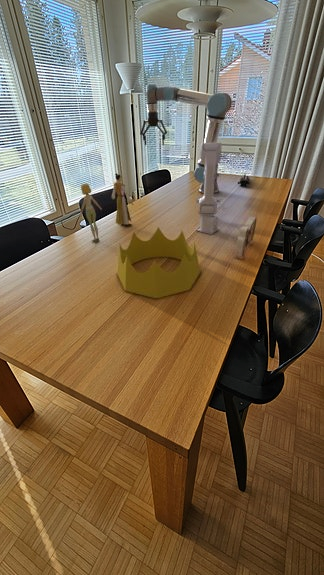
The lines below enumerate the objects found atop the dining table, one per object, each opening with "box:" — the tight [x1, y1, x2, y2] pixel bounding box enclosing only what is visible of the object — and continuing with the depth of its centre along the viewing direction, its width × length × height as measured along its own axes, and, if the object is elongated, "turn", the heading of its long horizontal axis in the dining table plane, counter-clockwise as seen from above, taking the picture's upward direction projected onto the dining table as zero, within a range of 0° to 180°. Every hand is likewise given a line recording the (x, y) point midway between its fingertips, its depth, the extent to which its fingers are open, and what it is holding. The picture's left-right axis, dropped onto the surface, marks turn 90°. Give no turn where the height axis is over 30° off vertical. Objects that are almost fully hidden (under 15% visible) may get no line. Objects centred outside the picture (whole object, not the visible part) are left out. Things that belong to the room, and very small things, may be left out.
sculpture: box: [79, 183, 103, 243], centre depth 136 cm, size 13×5×30 cm, turn 134°
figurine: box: [110, 173, 134, 228], centre depth 153 cm, size 19×9×30 cm, turn 47°
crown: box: [116, 226, 201, 299], centre depth 110 cm, size 36×36×15 cm
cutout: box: [235, 216, 258, 260], centre depth 125 cm, size 15×3×25 cm
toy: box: [237, 173, 251, 188], centre depth 230 cm, size 10×5×30 cm
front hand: (207, 213), depth 165 cm, fingers closed on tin, 5 cm apart
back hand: (154, 145), depth 201 cm, fingers open, 13 cm apart
